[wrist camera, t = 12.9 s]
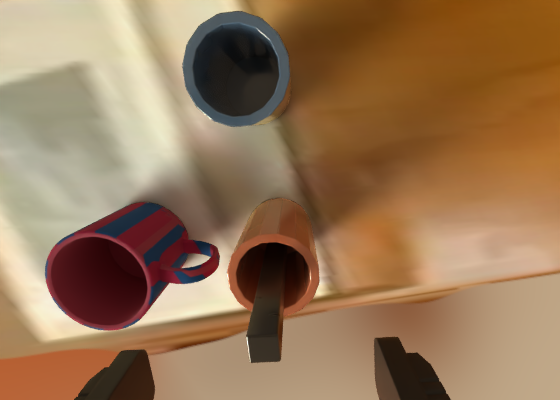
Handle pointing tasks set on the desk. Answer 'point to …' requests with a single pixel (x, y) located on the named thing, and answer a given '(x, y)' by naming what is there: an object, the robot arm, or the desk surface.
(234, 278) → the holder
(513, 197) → the desk surface
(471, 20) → the desk surface
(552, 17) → the desk surface
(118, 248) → the mug
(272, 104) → the holder
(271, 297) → the chopstick
